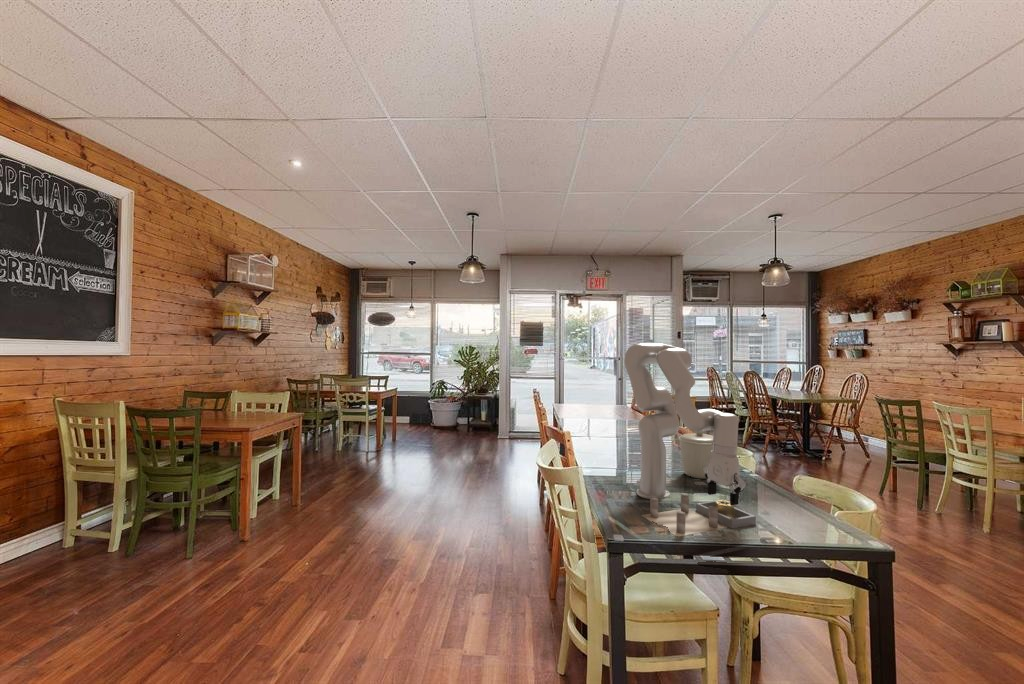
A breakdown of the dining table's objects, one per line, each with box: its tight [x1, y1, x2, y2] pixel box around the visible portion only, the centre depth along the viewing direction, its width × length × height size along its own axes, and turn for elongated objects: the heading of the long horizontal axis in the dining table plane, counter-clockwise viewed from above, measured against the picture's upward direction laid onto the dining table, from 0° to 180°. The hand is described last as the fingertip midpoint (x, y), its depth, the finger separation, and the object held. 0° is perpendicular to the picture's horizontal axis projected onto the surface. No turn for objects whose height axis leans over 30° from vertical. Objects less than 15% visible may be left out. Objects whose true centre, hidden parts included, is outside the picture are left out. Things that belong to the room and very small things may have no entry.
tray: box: [695, 499, 757, 529], centre depth 157 cm, size 16×10×4 cm, turn 21°
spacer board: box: [640, 492, 729, 538], centre depth 153 cm, size 18×20×7 cm
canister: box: [678, 431, 713, 480], centre depth 208 cm, size 18×18×21 cm
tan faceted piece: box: [714, 499, 735, 519], centre depth 157 cm, size 5×6×5 cm
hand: (722, 499), depth 158 cm, fingers open, 9 cm apart
